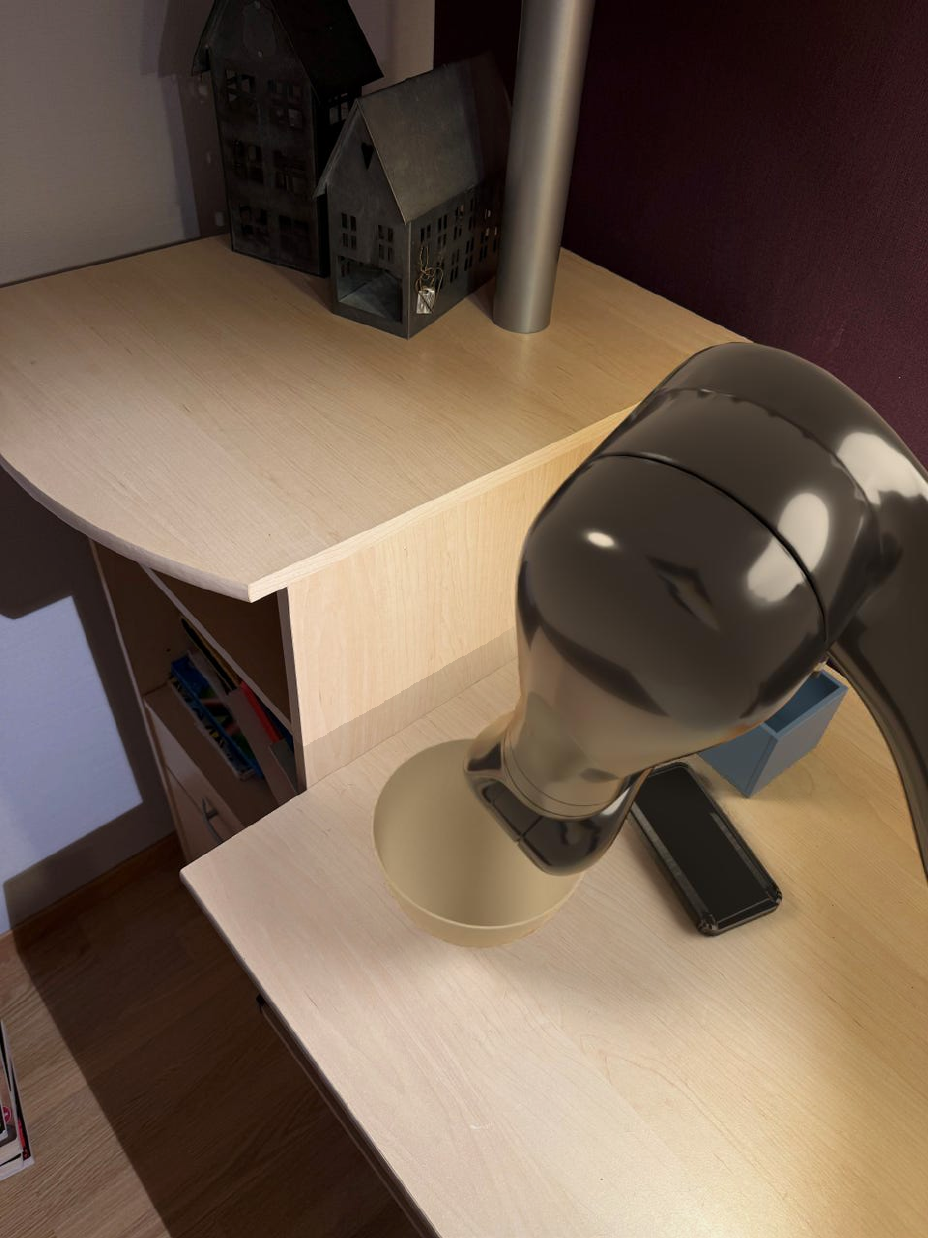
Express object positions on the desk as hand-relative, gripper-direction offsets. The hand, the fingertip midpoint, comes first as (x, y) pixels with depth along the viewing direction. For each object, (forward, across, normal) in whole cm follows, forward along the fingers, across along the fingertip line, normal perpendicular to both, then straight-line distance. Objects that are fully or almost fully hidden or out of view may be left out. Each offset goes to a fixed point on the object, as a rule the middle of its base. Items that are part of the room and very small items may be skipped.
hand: (807, 563), depth 75 cm
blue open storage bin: (-2, 0, +20) cm, 20 cm away
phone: (-16, -5, +20) cm, 26 cm away
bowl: (-33, +5, +20) cm, 39 cm away
